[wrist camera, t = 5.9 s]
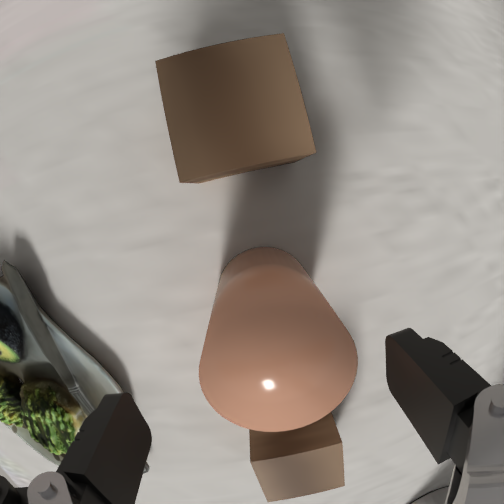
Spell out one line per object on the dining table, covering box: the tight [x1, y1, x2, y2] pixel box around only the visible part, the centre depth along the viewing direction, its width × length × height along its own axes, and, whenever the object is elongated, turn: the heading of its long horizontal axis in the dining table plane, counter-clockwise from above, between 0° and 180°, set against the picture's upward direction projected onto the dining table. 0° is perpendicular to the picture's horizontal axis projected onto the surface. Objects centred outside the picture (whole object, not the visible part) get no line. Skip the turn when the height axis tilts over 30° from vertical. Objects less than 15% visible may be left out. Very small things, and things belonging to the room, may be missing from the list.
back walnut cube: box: [249, 412, 345, 502], centre depth 17 cm, size 5×5×5 cm
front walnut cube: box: [155, 33, 316, 183], centre depth 13 cm, size 5×5×5 cm
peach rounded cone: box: [199, 247, 358, 432], centre depth 13 cm, size 5×5×8 cm
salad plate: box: [0, 260, 149, 473], centre depth 16 cm, size 19×18×5 cm
